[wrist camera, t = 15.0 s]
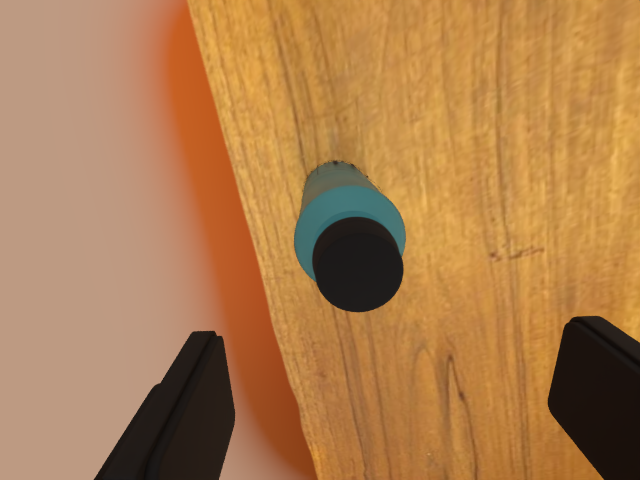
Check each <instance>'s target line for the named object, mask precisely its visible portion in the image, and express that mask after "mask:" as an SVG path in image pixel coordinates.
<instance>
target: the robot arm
mask: <svg viewBox="0 0 640 480" xmlns="http://www.w3.org/2000/svg"><path fill="white" fill-rule="evenodd" d="M548 407H549V410H550V412H551V414H552V415H553V417H554V418H555V419H556V421H557V422H558V423H559V424H560V425H561V427H562V428H563V429H564V430H565V432H566V433H567V434H568V435H569V437H570V438H571V439H572V440H573V442H574V443H575V444H576V445H577V447H578V448H579V449H580V450H581V452H582V453H583V454H584V455H585V457H586V458H587V459H588V460H589V462H590V463H591V464H592V465H593V467H594V468H595V469H596V470H597V471H598V473H599V474H600V475H601V476H602V478H603V479H604V480H640V343H639V342H638V341H636V340H635V339H633V338H632V337H630V336H629V335H627V334H626V333H624V332H623V331H621V330H620V329H619V328H617V327H616V326H614V325H613V324H611V323H610V322H608V321H607V320H605V319H604V318H602V317H600V316H581V317H573V318H572V319H571V320H570V322H569V323H567V324H566V325H565V327H564V330H563V335H562V339H561V344H560V348H559V352H558V357H557V361H556V366H555V370H554V375H553V379H552V383H551V388H550V392H549V397H548ZM234 422H235V409H234V403H233V397H232V390H231V384H230V379H229V372H228V366H227V360H226V353H225V348H224V341H223V338H222V336H217V335H216V333H215V331H197V332H192V333H191V334H190V336H189V338H188V339H187V341H186V343H185V344H184V346H183V347H182V349H181V351H180V352H179V354H178V356H177V357H176V359H175V360H174V362H173V364H172V365H171V367H170V368H169V370H168V372H167V373H166V375H165V377H164V378H163V380H162V381H161V383H160V384H157V385H155V386H154V387H153V388H152V389H151V391H150V392H149V394H148V395H147V397H146V398H145V400H144V402H143V403H142V405H141V406H140V408H139V409H138V411H137V413H136V414H135V416H134V417H133V419H132V420H131V422H130V424H129V425H128V427H127V428H126V430H125V431H124V433H123V435H122V436H121V438H120V439H119V441H118V443H117V444H116V446H115V447H114V449H113V450H112V452H111V453H110V455H109V457H108V458H107V460H106V461H105V463H104V464H103V466H102V468H101V469H100V471H99V472H98V474H97V476H96V477H95V479H94V480H219V477H220V473H221V470H222V466H223V463H224V459H225V456H226V452H227V449H228V445H229V442H230V438H231V435H232V431H233V427H234Z"/></svg>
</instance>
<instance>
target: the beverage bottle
mask: <svg viewBox="0 0 640 480" xmlns="http://www.w3.org/2000/svg"><path fill="white" fill-rule="evenodd" d="M337 161H339V160H337ZM337 161H336V160H335V161H333V162H332V161H331V162H329V161H328V163H324V164H323V165H321V166H319V167H318V166H317V167H316V169H315V170H314V171H312V172H311V174H310V173H309V174H310V175H309V177H308V178H307V180H306V181H305V182H306V183H305V186H304V185H303V186H304V190H303V196H302V204H301V210H300V215H299V219H298V221H297V224H296V228H295V234H294V247H295V252H296V256H297V259H298V261H299V263H300V265H301V267H302V268H303V270H304V271H305V272H306V274H307V275H308V276H309V277H310V278H312V279H313V280H314V281H315V282H316V283H317V286H318V288H319V290H320V292H321V293H322V295H323V296H324V297H325V298H326V299H327V300H328V301H329V302H330V303H331V304H332V305H334V306H336V307H337V308H340V309H342V310H345V311H350V312H366V311H370V310H374V309H376V308H378V307H380V306H382V305H384V304H385V303H387V302H388V301H389V300H390V299H391V298H392V297H393V296H394V295H395V294H396V292H397V291H398V289H399V287H400V284H401V282H402V278H403V260H402V255H403V252H404V248H405V241H406V233H405V226H404V222H403V219H402V217H401V215H400V213H399V211H398V210H397V208H396V207H395V206H394V204H393V203H392V202H391V201H390V200H389V199H388V198H387V197H386V196H384V195H383V193H382V194H381V193H380V191H379V190H378V189H377V188H376V187H375V186H374V185H373V184H372V183H371V182H370V181H369V180H368V179H369V178H368V179H367V178H366V177H365V176H366V175H365V176H364V175H363V174H362V173H361V172H360V171H359V170H358V169H357V168H356V167H355V166H354V165H353V164H351V163H350V162H349V163H350V164H351V165H350V164H347V163H348V162H347V163H344V162H343V160H342V161H341V162H337ZM345 162H346V161H345ZM321 164H322V163H321ZM319 165H320V164H319ZM307 176H308V175H307ZM367 177H368V176H367ZM381 192H382V191H381Z"/></svg>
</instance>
